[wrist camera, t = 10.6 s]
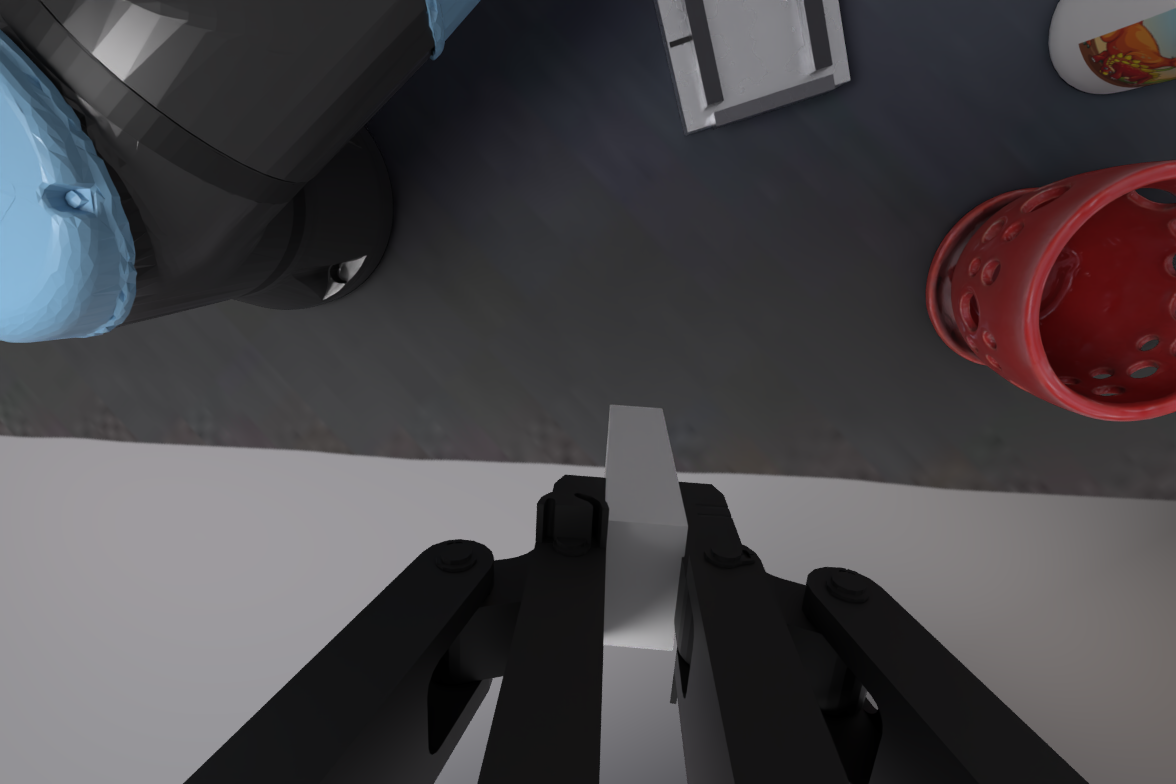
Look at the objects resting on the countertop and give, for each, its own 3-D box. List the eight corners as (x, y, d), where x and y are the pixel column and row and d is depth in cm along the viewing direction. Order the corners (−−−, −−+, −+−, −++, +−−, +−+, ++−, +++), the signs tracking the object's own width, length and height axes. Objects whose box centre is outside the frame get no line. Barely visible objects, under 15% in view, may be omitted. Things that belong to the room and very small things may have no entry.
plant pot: (1019, 398, 43) (1165, 467, 31) (870, 311, 42) (965, 350, 30) (1155, 235, 39) (1376, 246, 28) (995, 133, 38) (1158, 101, 26)
